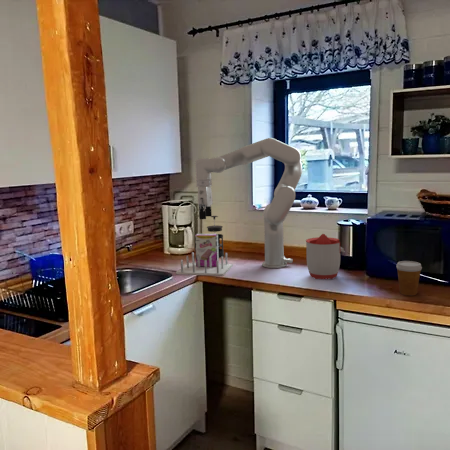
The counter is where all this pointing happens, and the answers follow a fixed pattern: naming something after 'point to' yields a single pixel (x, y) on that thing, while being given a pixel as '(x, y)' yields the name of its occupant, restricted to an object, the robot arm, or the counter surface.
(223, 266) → the dish rack
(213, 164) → the robot arm
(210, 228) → the french press
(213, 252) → the candy bar box
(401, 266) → the disposable coffee cup
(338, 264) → the citrus juicer
